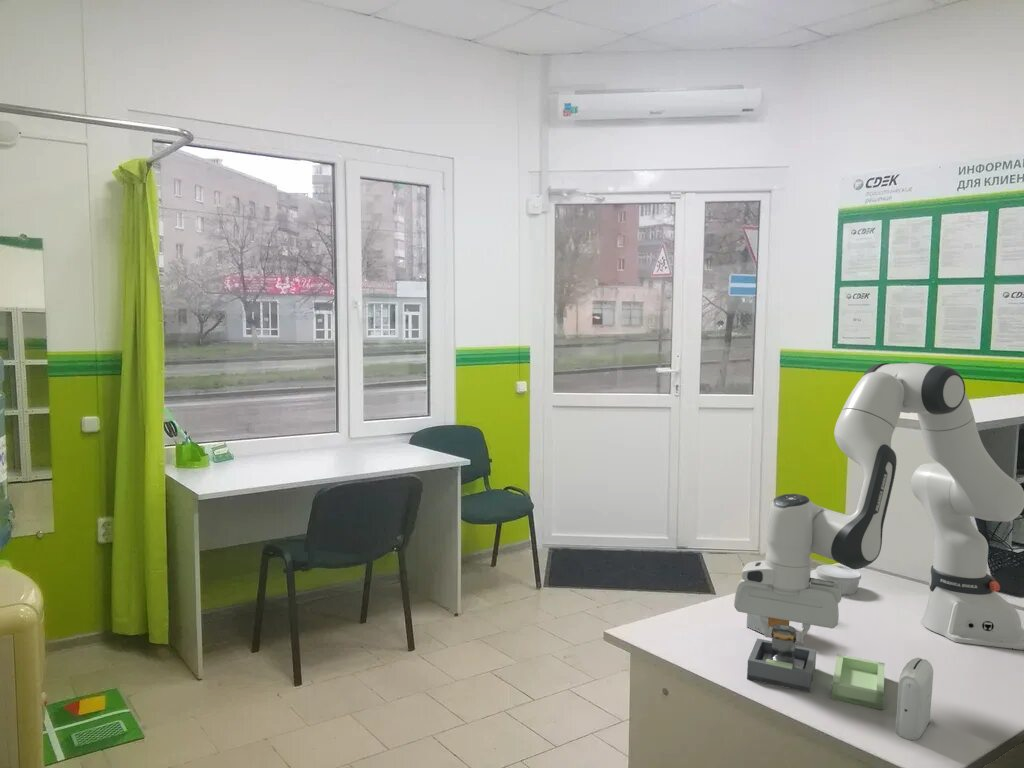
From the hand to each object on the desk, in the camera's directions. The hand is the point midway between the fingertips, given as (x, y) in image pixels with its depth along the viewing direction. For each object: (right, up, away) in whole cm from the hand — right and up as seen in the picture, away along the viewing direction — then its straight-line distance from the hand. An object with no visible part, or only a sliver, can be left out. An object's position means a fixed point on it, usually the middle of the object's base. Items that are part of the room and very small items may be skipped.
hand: (783, 639), depth 161 cm
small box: (+5, -5, +24) cm, 25 cm away
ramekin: (+32, -4, +51) cm, 61 cm away
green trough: (+13, -8, -5) cm, 16 cm away
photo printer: (+16, -10, -20) cm, 27 cm away
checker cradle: (0, -7, +1) cm, 7 cm away
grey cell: (0, -5, 0) cm, 5 cm away
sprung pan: (0, -6, +1) cm, 6 cm away
